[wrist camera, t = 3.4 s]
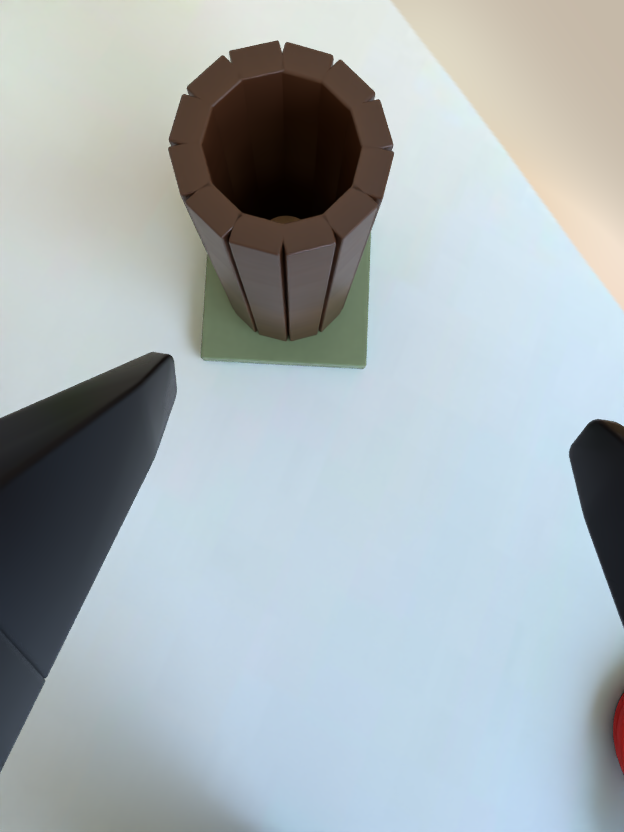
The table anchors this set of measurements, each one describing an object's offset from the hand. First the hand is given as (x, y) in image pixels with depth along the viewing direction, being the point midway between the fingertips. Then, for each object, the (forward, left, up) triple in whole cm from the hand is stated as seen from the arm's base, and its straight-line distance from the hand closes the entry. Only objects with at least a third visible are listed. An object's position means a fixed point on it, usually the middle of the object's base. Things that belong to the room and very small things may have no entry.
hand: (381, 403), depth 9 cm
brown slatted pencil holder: (+4, +7, -13) cm, 15 cm away
